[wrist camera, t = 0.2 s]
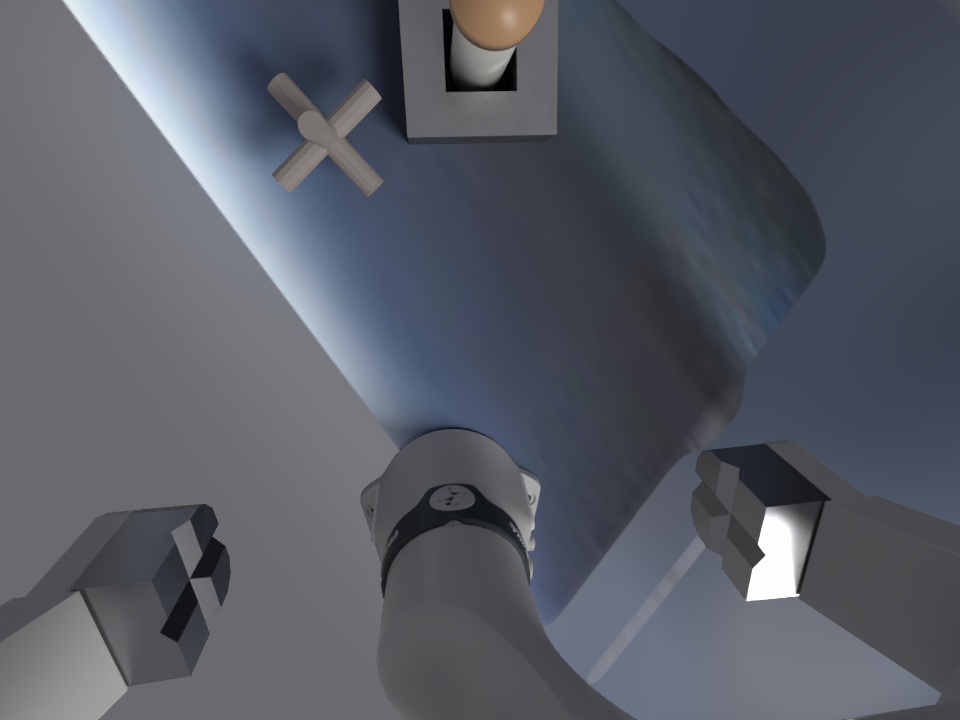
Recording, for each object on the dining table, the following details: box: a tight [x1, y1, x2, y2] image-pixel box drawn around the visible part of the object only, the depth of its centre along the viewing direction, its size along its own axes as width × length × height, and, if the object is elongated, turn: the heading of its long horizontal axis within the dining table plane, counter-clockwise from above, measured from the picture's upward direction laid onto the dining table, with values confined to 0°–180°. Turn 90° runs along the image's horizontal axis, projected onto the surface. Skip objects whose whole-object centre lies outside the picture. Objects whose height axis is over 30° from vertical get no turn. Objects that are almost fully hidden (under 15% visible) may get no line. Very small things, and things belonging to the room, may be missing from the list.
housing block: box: [398, 0, 558, 145], centre depth 40 cm, size 12×12×4 cm
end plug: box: [449, 0, 545, 92], centre depth 35 cm, size 5×5×15 cm
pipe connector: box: [267, 73, 383, 197], centre depth 38 cm, size 10×10×10 cm
